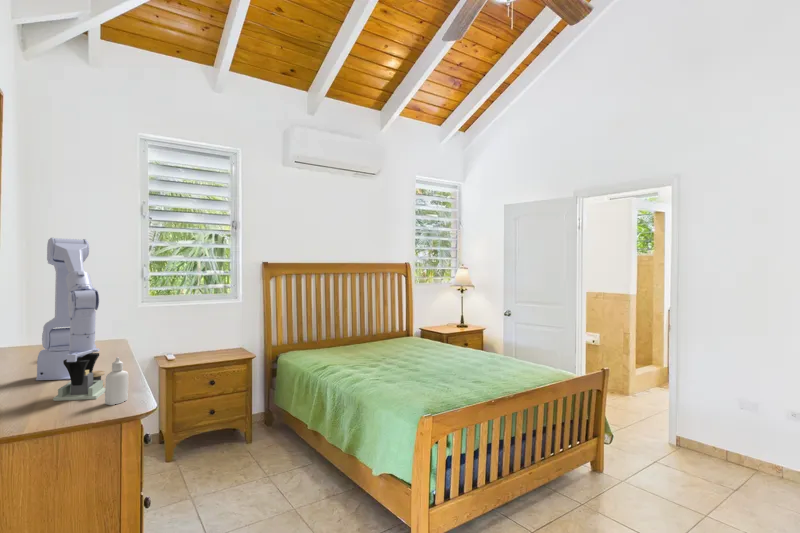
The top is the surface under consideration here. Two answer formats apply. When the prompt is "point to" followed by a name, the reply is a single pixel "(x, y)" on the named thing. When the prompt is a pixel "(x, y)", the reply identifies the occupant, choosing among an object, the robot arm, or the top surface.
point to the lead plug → (83, 384)
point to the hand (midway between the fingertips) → (81, 382)
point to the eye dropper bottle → (116, 384)
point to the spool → (97, 375)
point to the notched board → (93, 393)
